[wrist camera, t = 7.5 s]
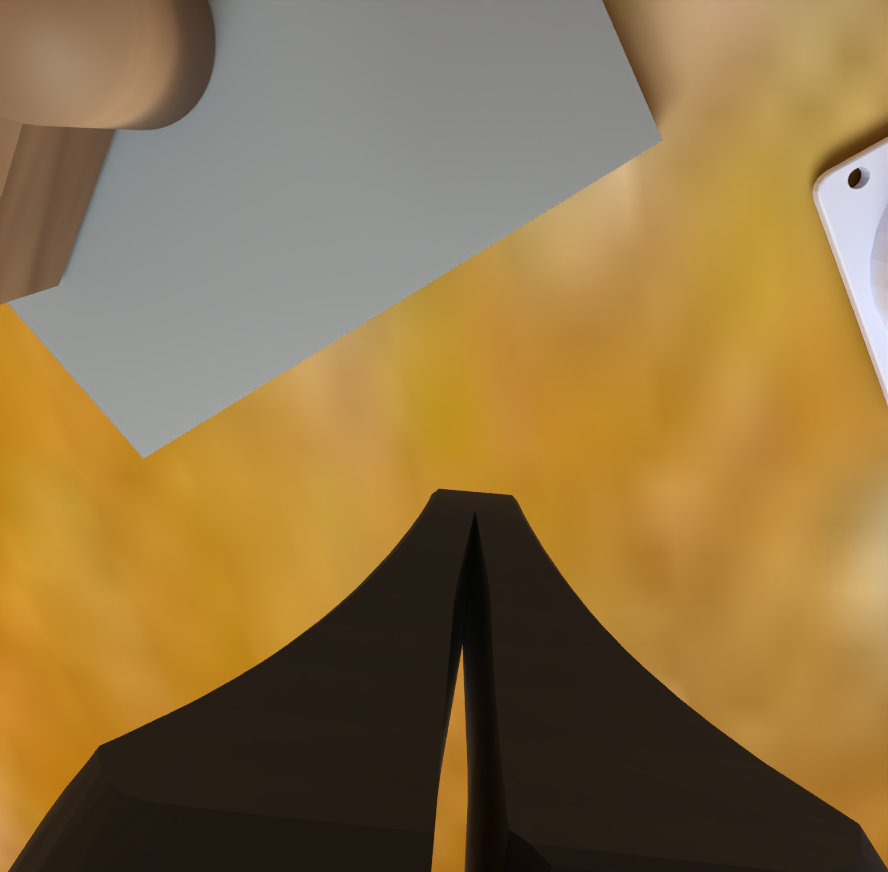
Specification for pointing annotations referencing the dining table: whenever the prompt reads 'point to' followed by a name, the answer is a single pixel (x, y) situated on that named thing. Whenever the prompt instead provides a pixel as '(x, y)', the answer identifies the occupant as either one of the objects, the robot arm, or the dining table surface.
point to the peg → (82, 111)
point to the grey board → (325, 188)
